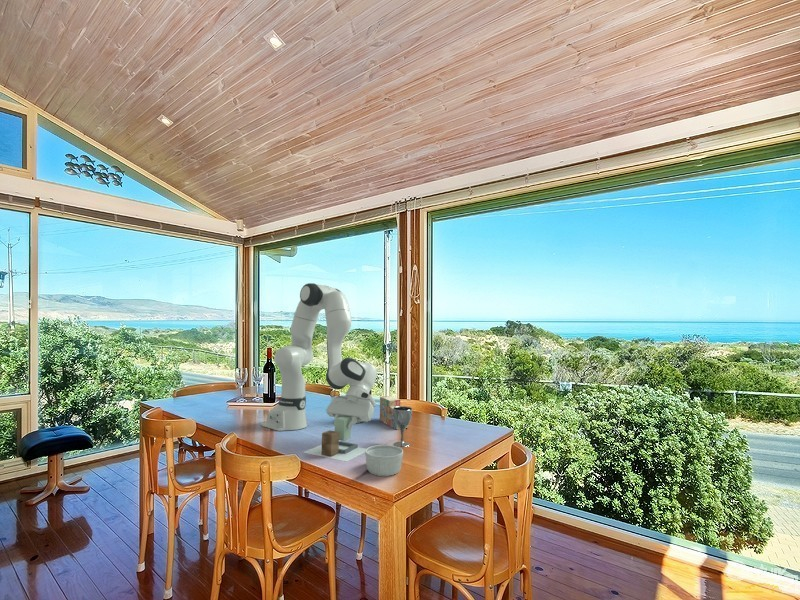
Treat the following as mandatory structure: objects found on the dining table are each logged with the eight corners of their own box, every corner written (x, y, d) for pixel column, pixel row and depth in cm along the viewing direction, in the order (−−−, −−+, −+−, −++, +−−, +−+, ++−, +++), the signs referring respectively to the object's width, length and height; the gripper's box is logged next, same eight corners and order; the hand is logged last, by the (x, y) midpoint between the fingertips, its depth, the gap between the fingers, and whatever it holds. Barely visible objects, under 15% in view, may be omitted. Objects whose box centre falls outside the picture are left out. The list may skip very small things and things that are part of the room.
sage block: (334, 439, 158) (334, 418, 159) (341, 436, 162) (341, 416, 163) (343, 440, 156) (344, 419, 157) (350, 438, 160) (350, 417, 161)
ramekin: (384, 481, 131) (385, 459, 131) (356, 471, 139) (357, 450, 140) (410, 470, 141) (411, 450, 141) (382, 461, 149) (383, 442, 150)
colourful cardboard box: (408, 428, 196) (408, 403, 197) (396, 430, 193) (396, 403, 194) (390, 418, 215) (390, 395, 216) (379, 419, 213) (379, 396, 213)
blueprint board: (302, 455, 154) (302, 449, 154) (328, 444, 168) (328, 438, 168) (346, 465, 145) (346, 458, 145) (369, 452, 159) (370, 446, 159)
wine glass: (393, 441, 175) (393, 406, 175) (411, 441, 174) (412, 406, 175) (392, 447, 167) (392, 410, 167) (411, 447, 166) (412, 410, 167)
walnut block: (321, 454, 151) (322, 433, 152) (328, 451, 155) (329, 430, 156) (331, 456, 149) (331, 434, 150) (338, 453, 153) (339, 431, 154)
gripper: (332, 391, 171) (317, 419, 162) (374, 395, 162) (360, 425, 153) (338, 400, 175) (323, 428, 166) (379, 404, 165) (366, 435, 156)
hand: (341, 427), depth 159 cm, fingers closed on sage block, 4 cm apart
